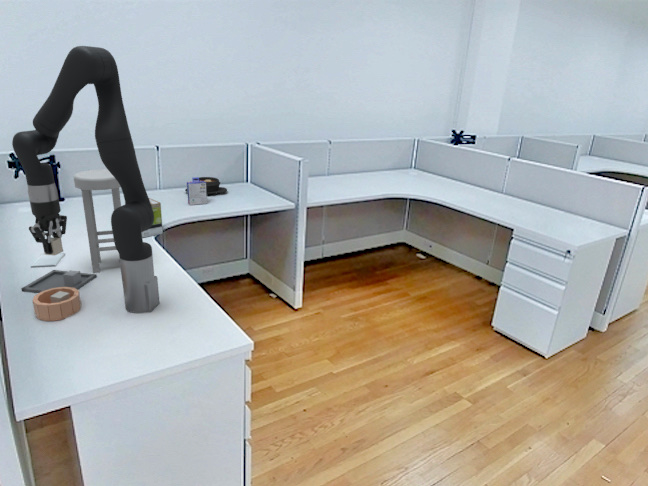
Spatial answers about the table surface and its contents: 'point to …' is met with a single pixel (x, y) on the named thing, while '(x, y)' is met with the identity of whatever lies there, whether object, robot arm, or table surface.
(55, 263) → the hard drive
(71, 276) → the light gray block
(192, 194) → the ink cartridge box
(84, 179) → the stool
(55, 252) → the off-white cubic block
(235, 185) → the table surface
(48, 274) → the tray
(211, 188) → the casserole
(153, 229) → the tea box
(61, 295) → the pale grey cuboid
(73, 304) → the bowl
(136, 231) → the robot arm
